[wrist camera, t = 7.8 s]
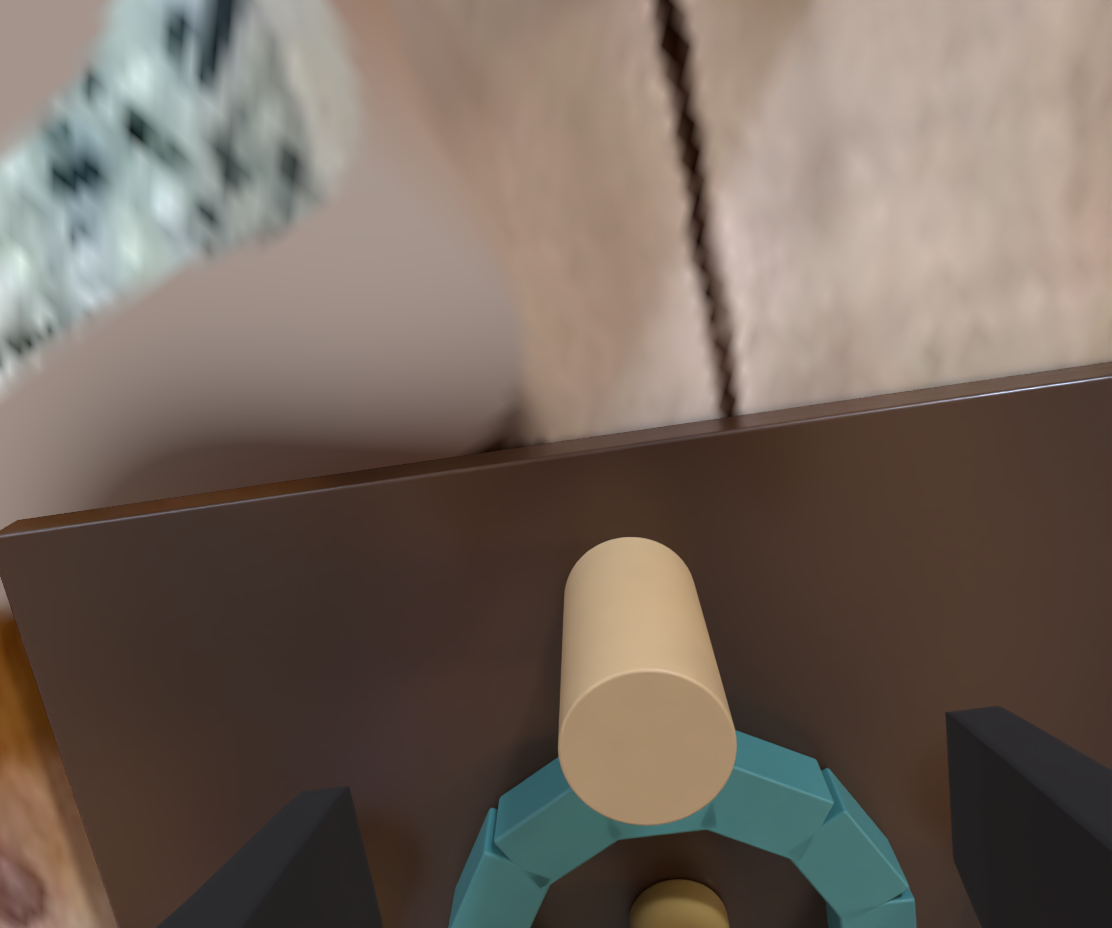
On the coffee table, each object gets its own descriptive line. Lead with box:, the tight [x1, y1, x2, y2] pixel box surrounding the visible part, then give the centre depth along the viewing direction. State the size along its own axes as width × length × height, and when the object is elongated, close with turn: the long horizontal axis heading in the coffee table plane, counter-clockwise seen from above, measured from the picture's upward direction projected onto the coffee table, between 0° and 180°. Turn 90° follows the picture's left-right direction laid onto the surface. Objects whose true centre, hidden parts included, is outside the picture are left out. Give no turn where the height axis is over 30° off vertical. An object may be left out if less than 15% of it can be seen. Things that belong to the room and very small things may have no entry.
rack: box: [0, 362, 1112, 928], centre depth 18 cm, size 23×15×4 cm, turn 99°
